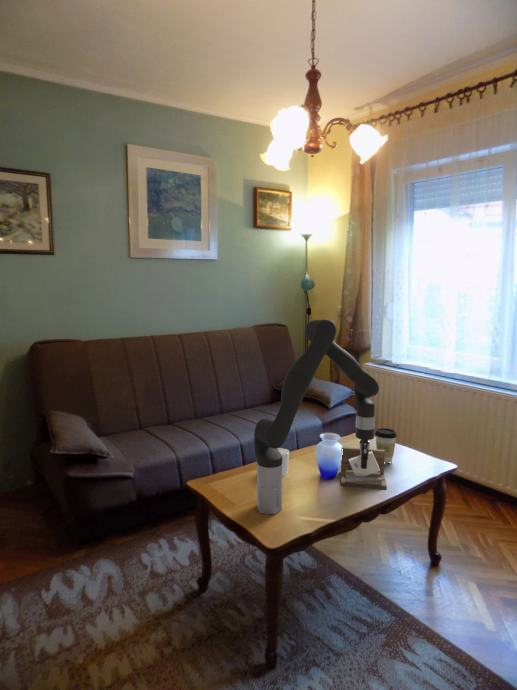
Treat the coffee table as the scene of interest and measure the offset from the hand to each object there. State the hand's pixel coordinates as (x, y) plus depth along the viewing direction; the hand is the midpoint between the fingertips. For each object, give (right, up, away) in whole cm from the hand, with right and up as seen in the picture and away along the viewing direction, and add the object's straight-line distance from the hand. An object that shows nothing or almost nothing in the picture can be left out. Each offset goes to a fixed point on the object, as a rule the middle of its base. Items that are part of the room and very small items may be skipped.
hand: (363, 466), depth 183 cm
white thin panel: (+2, -3, 0) cm, 3 cm away
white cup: (-34, -6, +10) cm, 36 cm away
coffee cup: (+15, -4, +23) cm, 28 cm away
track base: (+1, -7, +4) cm, 8 cm away
